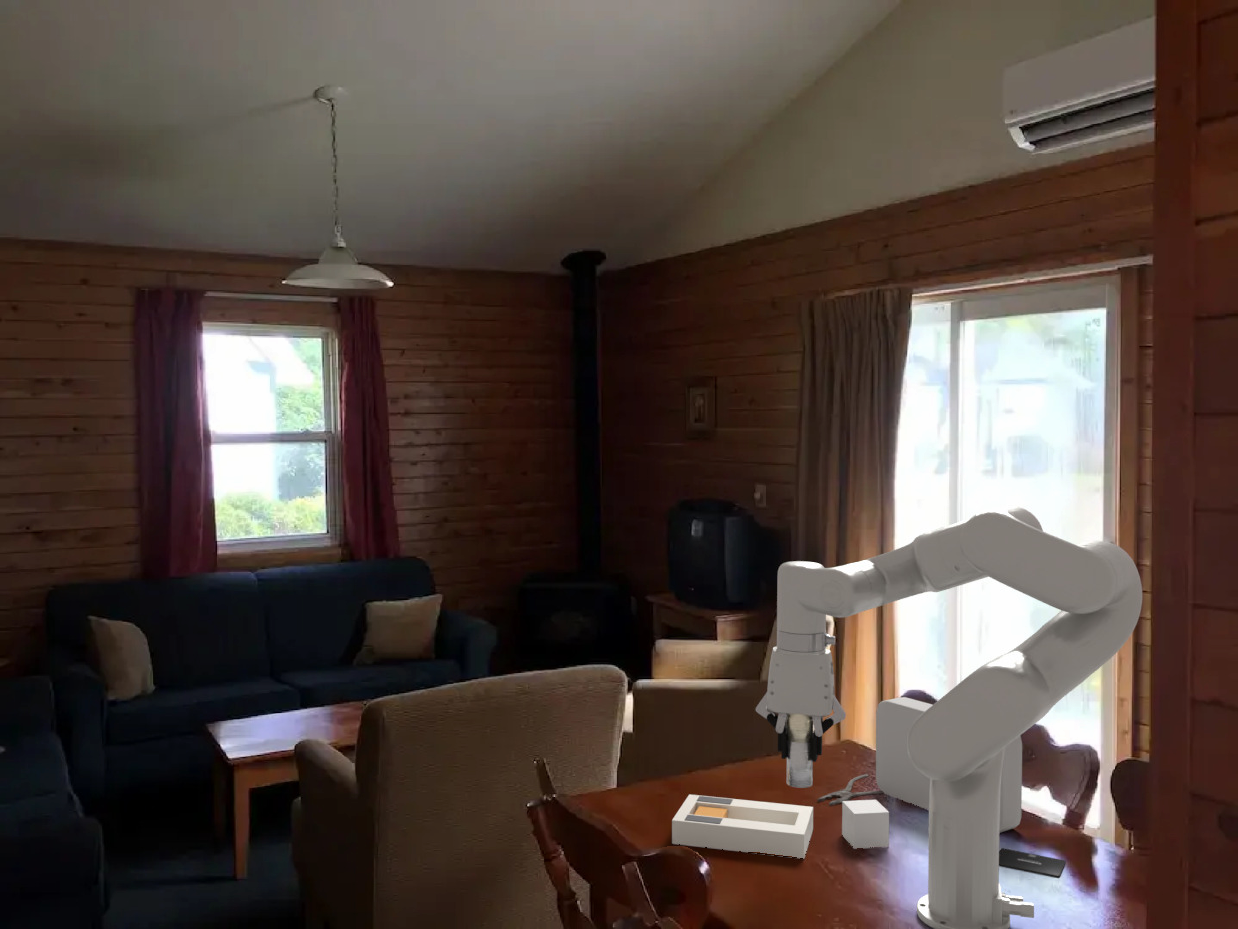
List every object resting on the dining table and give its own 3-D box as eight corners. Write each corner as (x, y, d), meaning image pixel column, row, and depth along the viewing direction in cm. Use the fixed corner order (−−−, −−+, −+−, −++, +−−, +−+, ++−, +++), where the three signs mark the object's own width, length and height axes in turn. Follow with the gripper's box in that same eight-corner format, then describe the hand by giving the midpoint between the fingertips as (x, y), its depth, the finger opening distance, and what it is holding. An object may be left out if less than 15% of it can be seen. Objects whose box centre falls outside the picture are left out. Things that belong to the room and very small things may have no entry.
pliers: (907, 782, 206) (863, 811, 190) (907, 786, 206) (863, 816, 190) (861, 772, 212) (815, 799, 196) (861, 776, 212) (815, 804, 196)
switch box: (813, 829, 182) (813, 806, 182) (804, 859, 170) (804, 834, 170) (689, 816, 189) (689, 794, 188) (672, 843, 176) (672, 819, 176)
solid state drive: (1001, 851, 174) (1001, 847, 174) (1066, 864, 169) (1066, 860, 169) (992, 866, 168) (992, 862, 168) (1059, 880, 163) (1059, 876, 163)
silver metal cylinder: (813, 780, 166) (814, 705, 165) (811, 789, 162) (811, 712, 161) (788, 778, 167) (789, 703, 166) (784, 786, 163) (785, 709, 162)
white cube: (854, 849, 174) (854, 814, 174) (842, 836, 180) (842, 801, 180) (889, 847, 175) (889, 812, 175) (875, 834, 181) (875, 799, 181)
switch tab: (727, 822, 183) (727, 809, 183) (721, 834, 178) (721, 820, 178) (699, 819, 184) (699, 806, 184) (692, 830, 179) (692, 816, 179)
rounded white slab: (1030, 829, 183) (1031, 726, 182) (1002, 839, 178) (1003, 733, 178) (902, 783, 207) (903, 692, 206) (875, 790, 202) (875, 698, 202)
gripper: (857, 640, 165) (856, 755, 165) (751, 633, 169) (750, 746, 170) (854, 650, 157) (852, 770, 158) (743, 642, 162) (742, 760, 163)
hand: (799, 756), depth 164 cm, fingers closed on silver metal cylinder, 4 cm apart
